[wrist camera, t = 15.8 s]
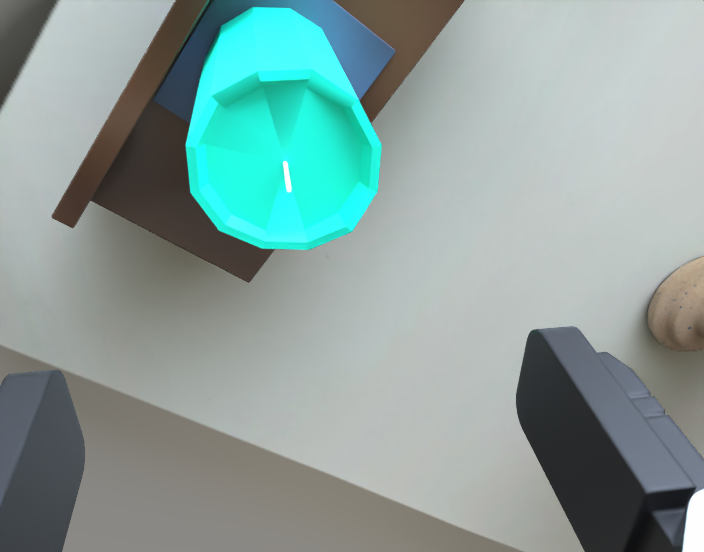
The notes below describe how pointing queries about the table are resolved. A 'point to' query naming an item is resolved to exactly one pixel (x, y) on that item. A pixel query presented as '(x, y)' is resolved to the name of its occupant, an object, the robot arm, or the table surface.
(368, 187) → the candle
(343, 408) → the table surface
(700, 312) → the candle holder
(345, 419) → the table surface
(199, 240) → the shelf
